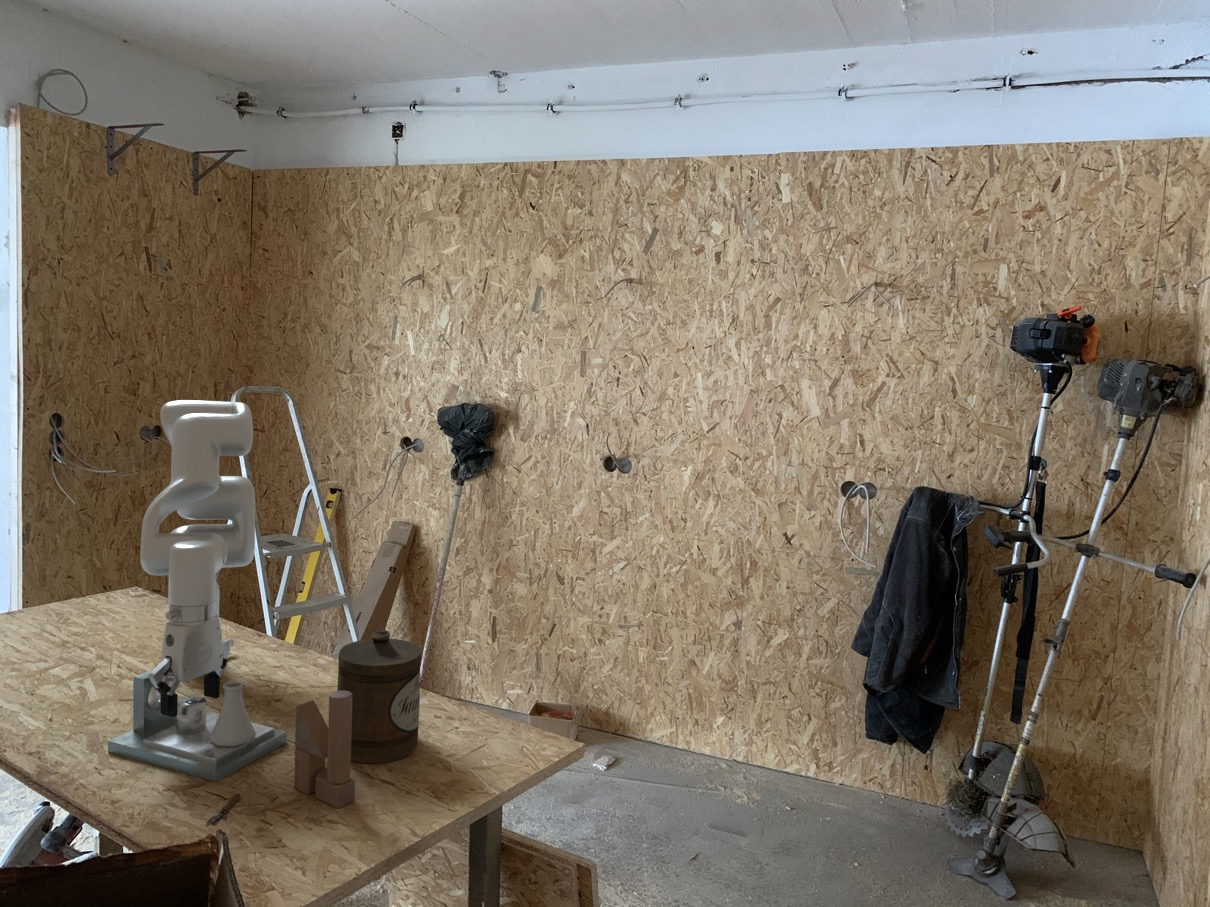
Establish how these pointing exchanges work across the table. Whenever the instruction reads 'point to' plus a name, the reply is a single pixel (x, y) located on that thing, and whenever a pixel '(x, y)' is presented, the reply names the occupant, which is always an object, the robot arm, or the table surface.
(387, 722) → the wooden container
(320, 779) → the brown wooden pieces
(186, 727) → the silver jar with knob
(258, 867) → the table surface
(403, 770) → the table surface
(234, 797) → the can opener
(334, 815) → the table surface
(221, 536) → the robot arm
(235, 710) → the flask
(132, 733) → the scale
